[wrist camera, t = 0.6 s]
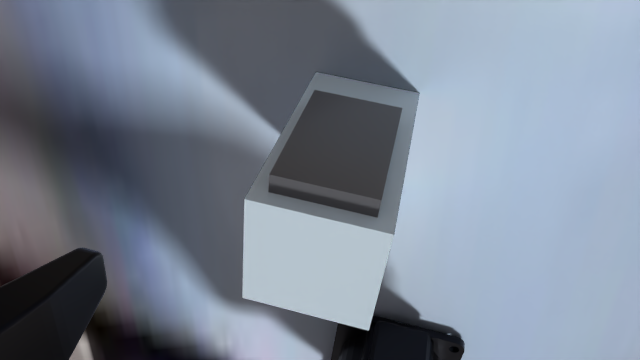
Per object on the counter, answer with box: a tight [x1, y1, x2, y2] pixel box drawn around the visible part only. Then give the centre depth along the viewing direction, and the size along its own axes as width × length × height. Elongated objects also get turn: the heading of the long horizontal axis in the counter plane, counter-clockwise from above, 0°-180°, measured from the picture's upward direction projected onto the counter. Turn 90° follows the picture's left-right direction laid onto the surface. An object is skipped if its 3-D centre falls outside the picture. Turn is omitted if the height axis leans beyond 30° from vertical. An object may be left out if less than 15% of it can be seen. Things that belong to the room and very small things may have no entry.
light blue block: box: [242, 72, 420, 331], centre depth 18 cm, size 5×4×8 cm
